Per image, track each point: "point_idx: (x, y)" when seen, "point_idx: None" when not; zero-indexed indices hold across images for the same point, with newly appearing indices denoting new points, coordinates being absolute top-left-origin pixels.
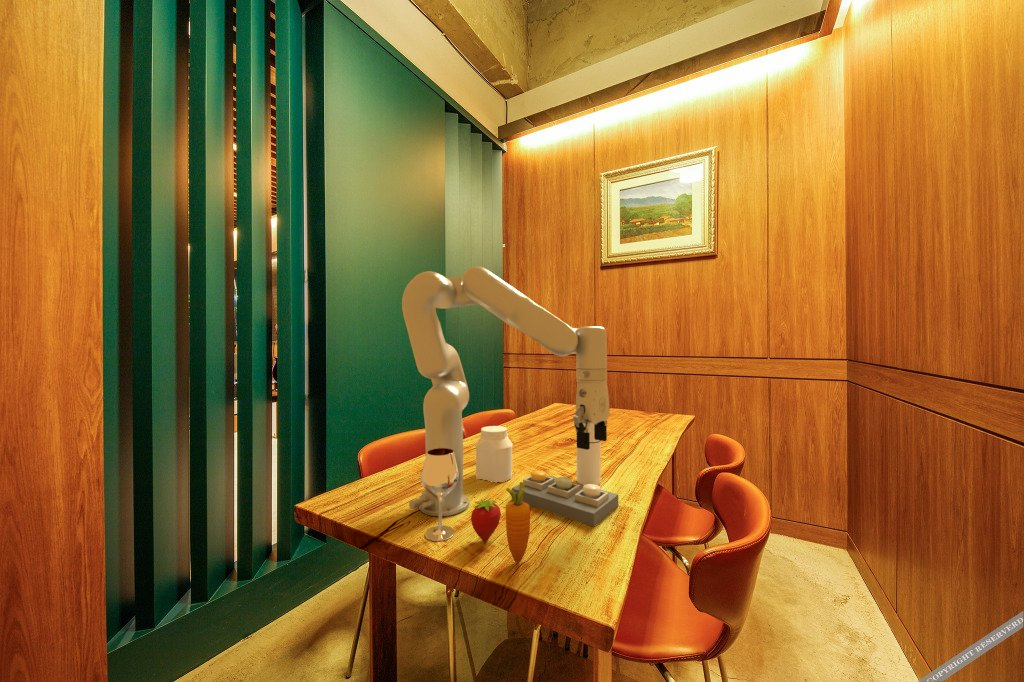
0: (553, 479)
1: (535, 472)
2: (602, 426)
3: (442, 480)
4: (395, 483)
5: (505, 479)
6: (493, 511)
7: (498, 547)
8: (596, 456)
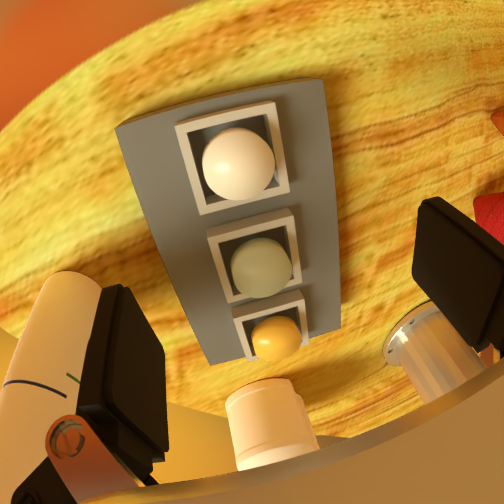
0: (237, 315)
1: (281, 352)
2: (128, 412)
3: None
4: (390, 406)
5: (268, 382)
6: None
7: (478, 171)
8: (44, 337)
